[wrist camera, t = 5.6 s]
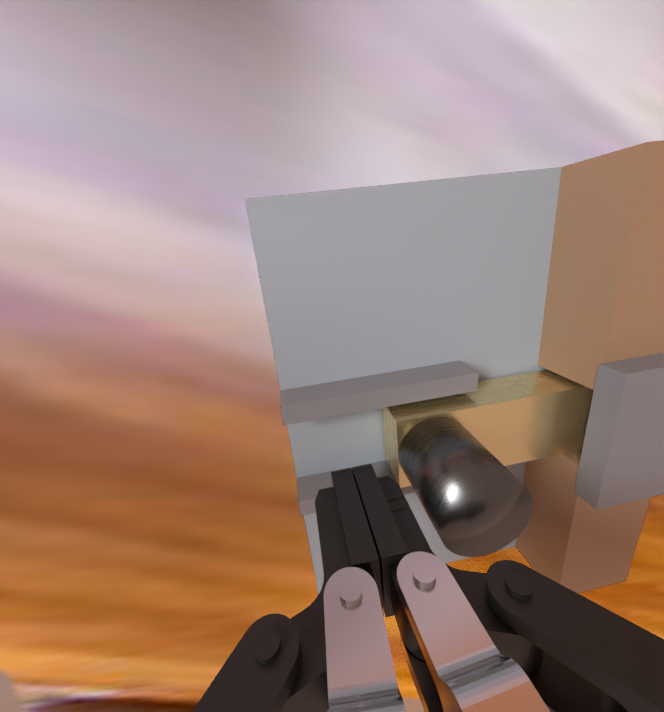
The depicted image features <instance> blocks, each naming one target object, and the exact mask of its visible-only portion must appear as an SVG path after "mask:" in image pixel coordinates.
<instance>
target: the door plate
mask: <svg viewBox="0 0 664 712" xmlns="http://www.w3.org/2000/svg"><path fill="white" fill-rule="evenodd" d="M245 203H246V208H247V213H248V219H249V224H250V229H251V235H252V240H253V246H254V251H255V256H256V262H257V267H258V272H259V278H260V283H261V288H262V294H263V299H264V305H265V310H266V315H267V321H268V326H269V331H270V337H271V342H272V347H273V353H274V358H275V364H276V369H277V374H278V380H279V385H280V408H281V413H282V418H283V423H284V425H287V428H288V433H289V439H290V444H291V449H292V455H293V460H294V465H295V471H296V476H297V488H298V502H299V507H300V513H301V516H304V519H305V524H306V530H307V535H308V541H309V546H310V551H311V557H312V562H313V567H314V573H315V578H316V583H317V589H318V594H319V593H320V591H321V588H322V585H323V580H324V571H323V563H322V556H321V548H320V540H319V532H318V524H317V516H316V509H315V500H316V497H317V494H318V491H319V489H324V488H329V487H333V485H332V478H331V471H336V470H341V469H347V468H352V467H356V466H362V465H367V464H372V466H373V469H374V471H375V473H376V476H377V478H379V477H384V476H389V477H391V478H392V479H393V480H394V481H395V482H396V480H395V478H394V476H393V474H392V472H391V470H390V468H389V466H388V464H387V462H386V460H385V454H384V439H383V423H382V408H384V407H389V406H395V405H401V404H406V403H412V402H417V401H423V400H428V399H434V398H440V397H445V396H451V395H456V394H462V393H467V392H473V391H477V390H478V381H483V380H488V379H494V378H500V377H506V376H511V375H517V374H523V373H528V372H534V371H540V370H545V369H548V370H550V371H552V372H554V373H557V374H559V375H561V376H563V377H565V378H568V379H570V380H572V381H574V382H576V383H579V384H581V385H583V386H585V387H588V388H590V389H592V390H594V392H593V397H592V402H591V407H590V412H589V417H588V423H587V428H586V433H585V438H584V443H583V449H582V450H579V451H575V452H570V453H565V454H560V455H555V456H551V457H546V458H541V459H536V460H532V461H527V462H522V463H517V464H512V465H508V466H505V467H506V468H507V469H508V470H509V471H510V472H511V473H512V474H513V475H514V476H515V477H516V478H517V479H518V480H519V481H520V482H521V483H522V484H523V485H524V486H525V487H526V488H527V489H528V490H529V491H530V493H531V496H532V499H533V511H532V515H531V518H530V520H529V522H528V524H527V526H526V527H525V529H524V530H523V531H522V533H521V534H520V535H519V536H518V537H517V538H516V539H515V540H514V541H512V542H511V543H510V544H508V545H507V546H505V547H504V548H502V549H500V550H503V549H507V548H511V547H516V548H517V549H518V550H519V552H520V553H521V554H522V555H523V557H524V558H525V559H526V560H527V562H528V563H529V564H530V566H531V567H532V568H533V569H534V570H535V571H537V572H538V573H540V574H542V575H544V576H546V577H548V578H550V579H551V580H553V581H555V582H557V583H559V584H561V585H563V586H565V587H566V588H568V589H570V590H572V591H574V592H576V593H581V592H585V591H589V590H592V589H596V588H600V587H604V586H608V585H611V584H615V583H619V582H623V581H626V578H627V575H628V572H629V569H630V565H631V562H632V559H633V555H634V552H635V549H636V545H637V542H638V539H639V535H640V532H641V529H642V525H643V522H644V519H645V516H646V512H647V509H648V506H649V502H650V499H651V497H653V496H658V495H662V494H664V141H654V142H646V143H643V144H639V145H636V146H632V147H629V148H626V149H622V150H619V151H615V152H612V153H608V154H605V155H602V156H598V157H595V158H591V159H588V160H584V161H581V162H578V163H574V164H571V165H567V166H564V167H558V168H548V169H538V170H528V171H518V172H508V173H499V174H489V175H479V176H469V177H459V178H449V179H439V180H429V181H419V182H409V183H399V184H389V185H379V186H369V187H360V188H350V189H340V190H330V191H320V192H310V193H300V194H290V195H280V196H270V197H260V198H250V199H245ZM396 483H397V482H396ZM401 490H402V492H403V494H404V496H405V499H406V500H407V502H408V504H409V506H410V509H411V510H412V512H413V514H414V516H415V518H416V520H417V522H418V524H419V526H420V528H421V530H422V532H423V534H424V536H425V538H426V540H427V542H428V544H429V546H430V548H431V550H432V552H433V553H434V554H435V555H436V556H437V557H438V558H439V559H440V560H442V561H443V562H444V563H449V562H453V561H457V560H461V559H466V558H470V557H464V556H460V555H457V554H454V553H452V552H451V551H449V550H448V549H447V548H446V547H445V545H444V544H443V542H442V540H441V539H440V537H439V535H438V533H437V531H436V530H435V528H434V526H433V524H432V522H431V520H430V519H429V517H428V515H427V513H426V511H425V510H424V508H423V506H422V504H421V502H420V500H419V499H418V497H417V495H416V493H415V491H414V490H413V488H412V486H407V487H403V488H401ZM498 551H499V550H498Z"/></svg>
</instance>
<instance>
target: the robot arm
mask: <svg viewBox="0 0 664 712" xmlns="http://www.w3.org/2000/svg"><path fill="white" fill-rule="evenodd" d="M331 478H332V485H333V487H329V488H324V489H319V491H318V494H317V497H316V500H315V509H316V516H317V524H318V532H319V540H320V548H321V556H322V563H323V571H324V580H323V585H322V588H321V591H320V593H319V595H318V597H317V598H316V599H315V601H314V602H313V603H312V604H311V605H310V606H309V607H307V608H306V609H305V610H303V611H302V612H300V613H299V614H297V615H295V616H294V617H292V618H291V619H289V618H288V617H286V616H284V615H281V614H269V615H266V616H263V617H262V618H260V619H258V620H257V621H256V622H254V623H253V624H252V625H251V626H250V627H249V629H248V630H247V631H246V633H245V634H244V636H243V637H242V639H241V640H240V642H239V643H238V644H237V646H236V647H235V649H234V650H233V652H232V653H231V655H230V656H229V658H228V659H227V661H226V662H225V664H224V665H223V667H222V668H221V670H220V671H219V673H218V674H217V676H216V677H215V679H214V680H213V682H212V683H211V685H210V686H209V688H208V689H207V691H206V692H205V694H204V695H203V697H202V698H201V700H200V701H199V702H198V704H197V705H196V707H195V708H194V710H193V711H192V712H406V711H405V707H404V703H403V699H402V696H401V694H400V692H399V688H398V684H397V680H396V675H395V670H394V665H393V660H392V655H391V651H390V646H389V641H388V636H387V631H386V626H385V621H384V614H383V608H384V612H385V616H386V617H389V616H393V615H395V618H396V621H397V624H398V627H399V631H400V641H401V647H402V651H403V654H404V656H405V659H406V662H407V665H408V667H409V670H410V673H411V676H412V678H413V681H414V684H415V687H416V689H417V692H418V695H419V698H420V700H421V703H422V706H423V708H424V711H425V712H664V640H663V639H662V638H660V637H658V636H656V635H654V634H652V633H650V632H648V631H647V630H645V629H643V628H641V627H639V626H637V625H635V624H634V623H632V622H630V621H628V620H626V619H624V618H622V617H620V616H619V615H617V614H615V613H613V612H611V611H609V610H607V609H606V608H604V607H602V606H600V605H598V604H596V603H594V602H592V601H591V600H589V599H587V598H585V597H583V596H581V595H579V594H578V593H576V592H574V591H572V590H570V589H568V588H566V587H565V586H563V585H561V584H559V583H557V582H555V581H553V580H551V579H550V578H548V577H546V576H544V575H542V574H540V573H538V572H537V571H535V570H533V569H531V568H529V567H527V566H525V565H523V564H521V563H518V562H515V561H509V560H503V561H498V562H496V563H494V564H492V565H491V566H490V568H489V569H488V572H487V573H479V572H470V571H462V570H458V569H455V568H452V567H450V566H448V565H447V564H445V563H444V562H443V561H442V560H440V559H439V558H438V557H437V556H436V555H435V554H434V553H433V552H432V550H431V548H430V546H429V544H428V542H427V540H426V538H425V536H424V534H423V532H422V530H421V528H420V526H419V524H418V522H417V520H416V518H415V516H414V514H413V512H412V510H411V509H410V506H409V504H408V502H407V500H406V499H405V496H404V494H403V492H402V490H401V488H400V486H399V484H398V483H396V482H395V481H394V480H393V479H392V478H391V477H389V476H384V477H379V478H377V476H376V473H375V471H374V469H373V466H372V464H367V465H362V466H356V467H352V468H347V469H341V470H336V471H331Z"/></svg>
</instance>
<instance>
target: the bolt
mask: <svg viewBox="0 0 664 712" xmlns="http://www.w3.org/2000/svg"><path fill="white" fill-rule="evenodd" d="M593 392H594V390H592V389H590V388H588V387H585V386H583V385H581V384H579V383H576V382H574V381H572V380H570V379H568V378H565V377H563V376H561V375H559V374H557V373H554V372H552V371H550V370H548V369H545V370H540V371H534V372H528V373H523V374H517V375H511V376H506V377H500V378H494V379H488V380H483V381H478V390H477V391H473V392H467V393H462V394H456V395H451V396H445V397H440V398H434V399H428V400H423V401H417V402H412V403H406V404H401V405H395V406H389V407H384V408H382V423H383V439H384V454H385V460H386V462H387V464H388V466H389V468H390V470H391V472H392V474H393V476H394V478H395V480H396V482H397V483H398V484H399V486H400V488H403V487H407V486H412V488H413V490H414V491H415V493H416V495H417V497H418V499H419V500H420V502H421V504H422V506H423V508H424V510H425V511H426V513H427V515H428V517H429V519H430V520H431V522H432V524H433V526H434V528H435V530H436V531H437V533H438V535H439V537H440V539H441V540H442V542H443V544H444V545H445V547H446V548H447V549H448V550H449V551H451V552H452V553H454V554H457V555H460V556H464V557H479V556H484V555H488V554H491V553H494V552H496V551H498V550H500V549H502V548H504V547H505V546H507V545H508V544H510V543H511V542H512V541H514V540H515V539H516V538H517V537H518V536H519V535H520V534H521V533H522V531H523V530H524V529H525V527H526V526H527V524H528V522H529V520H530V518H531V515H532V511H533V499H532V496H531V493H530V491H529V490H528V489H527V488H526V487H525V486H524V485H523V484H522V483H521V482H520V481H519V480H518V479H517V478H516V477H515V476H514V475H513V474H512V473H511V472H510V471H509V470H508V469H507V468H506V467H505V466H508V465H512V464H517V463H522V462H527V461H532V460H536V459H541V458H546V457H551V456H555V455H560V454H565V453H570V452H575V451H579V450H582V449H583V443H584V438H585V433H586V428H587V423H588V417H589V412H590V407H591V402H592V397H593Z"/></svg>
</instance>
